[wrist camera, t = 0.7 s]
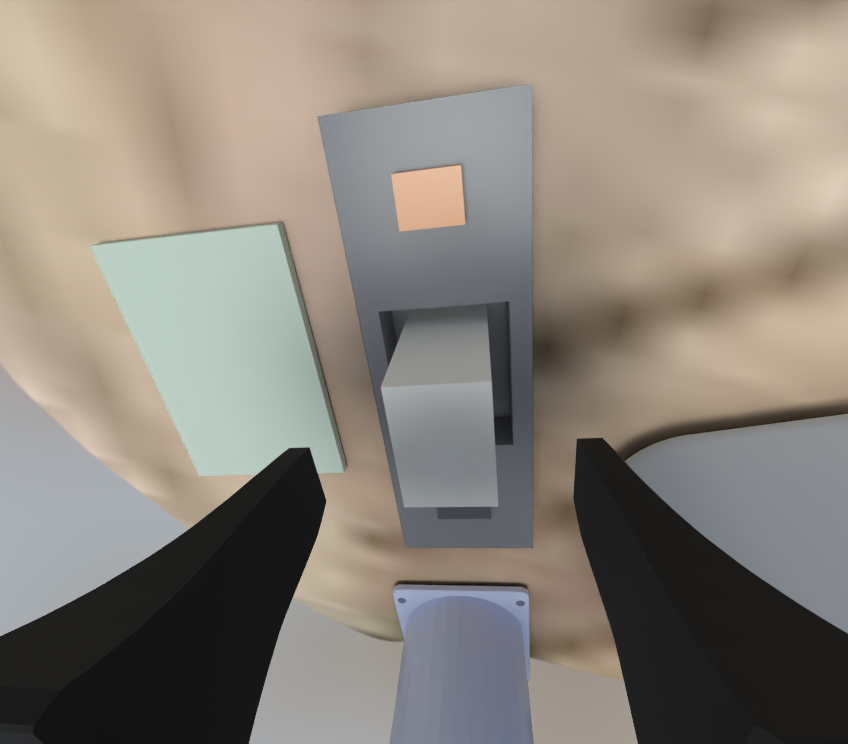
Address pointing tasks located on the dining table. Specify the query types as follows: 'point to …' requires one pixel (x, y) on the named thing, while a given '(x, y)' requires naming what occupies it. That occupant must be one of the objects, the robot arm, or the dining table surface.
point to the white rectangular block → (443, 409)
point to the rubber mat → (226, 344)
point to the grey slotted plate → (446, 268)
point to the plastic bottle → (766, 502)
